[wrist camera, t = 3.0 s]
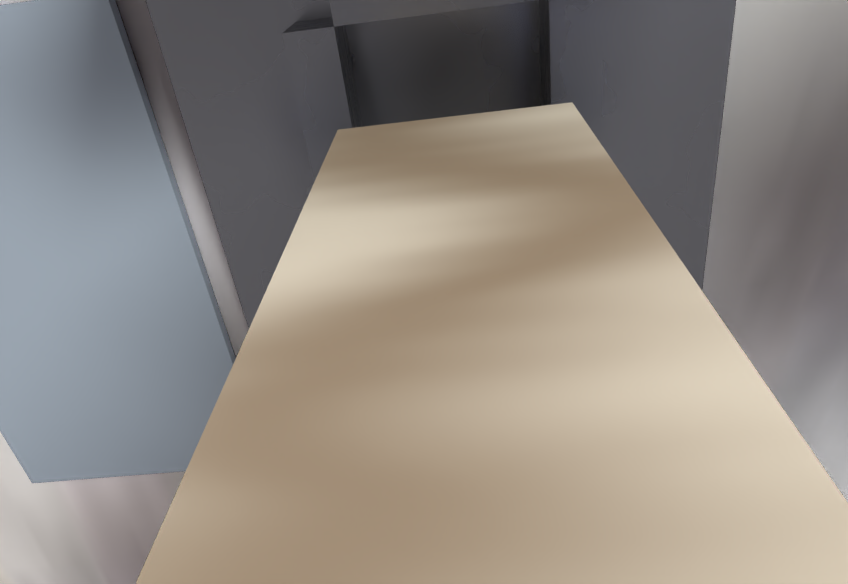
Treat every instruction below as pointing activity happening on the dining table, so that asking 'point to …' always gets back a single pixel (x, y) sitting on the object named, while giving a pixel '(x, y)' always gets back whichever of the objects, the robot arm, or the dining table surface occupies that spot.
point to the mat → (95, 259)
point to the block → (493, 389)
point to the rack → (439, 95)
